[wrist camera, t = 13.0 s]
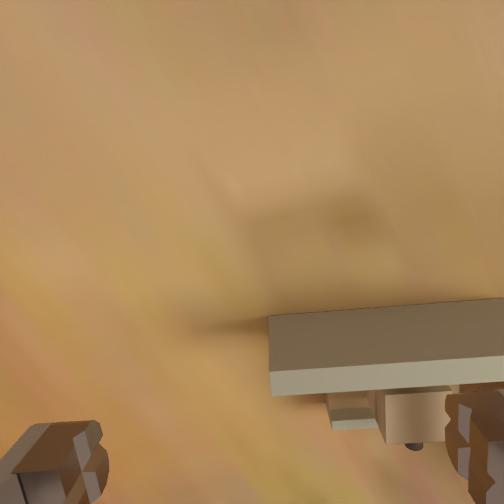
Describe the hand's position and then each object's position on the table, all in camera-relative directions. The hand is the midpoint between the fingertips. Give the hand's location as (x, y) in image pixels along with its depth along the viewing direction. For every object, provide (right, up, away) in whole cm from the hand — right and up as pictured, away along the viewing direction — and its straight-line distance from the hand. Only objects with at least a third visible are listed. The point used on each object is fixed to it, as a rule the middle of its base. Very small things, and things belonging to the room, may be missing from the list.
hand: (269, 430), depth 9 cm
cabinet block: (+13, -7, +27) cm, 30 cm away
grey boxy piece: (+13, -6, +29) cm, 32 cm away
